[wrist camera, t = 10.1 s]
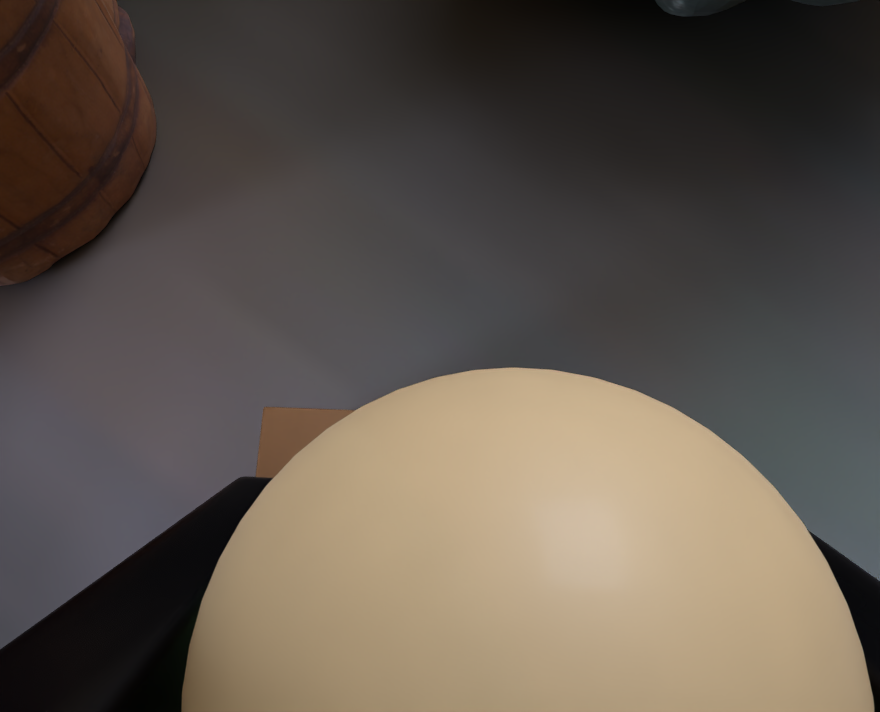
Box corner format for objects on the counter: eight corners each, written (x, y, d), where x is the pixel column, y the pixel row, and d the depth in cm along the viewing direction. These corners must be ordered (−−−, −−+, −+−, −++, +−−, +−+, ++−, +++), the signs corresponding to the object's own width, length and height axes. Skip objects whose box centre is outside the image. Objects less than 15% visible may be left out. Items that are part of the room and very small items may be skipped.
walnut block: (682, 885, 17) (730, 938, 14) (246, 862, 17) (205, 909, 14) (663, 452, 20) (700, 423, 17) (290, 437, 20) (262, 405, 17)
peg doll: (648, 725, 14) (1408, 1099, 3) (403, 838, 13) (175, 1824, 2) (538, 483, 15) (766, 98, 4) (312, 578, 15) (-109, 428, 4)
